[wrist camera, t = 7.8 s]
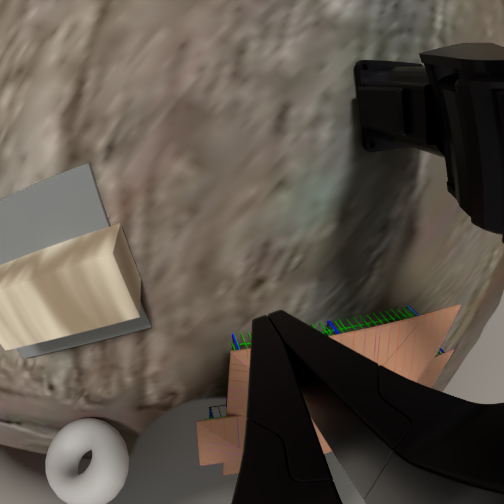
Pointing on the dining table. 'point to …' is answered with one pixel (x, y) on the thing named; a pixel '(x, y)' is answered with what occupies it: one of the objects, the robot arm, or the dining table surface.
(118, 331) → the slate mat
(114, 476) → the donut
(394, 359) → the house
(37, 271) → the birch block
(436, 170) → the dining table surface
